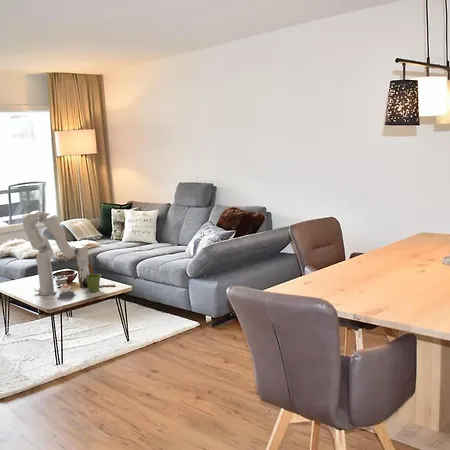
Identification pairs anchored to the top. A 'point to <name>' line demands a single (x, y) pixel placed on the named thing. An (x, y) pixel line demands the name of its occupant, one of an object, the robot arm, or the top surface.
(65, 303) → the top surface
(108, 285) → the bracket
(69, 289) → the popper dome
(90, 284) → the plant pot
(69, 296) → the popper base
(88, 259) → the block
